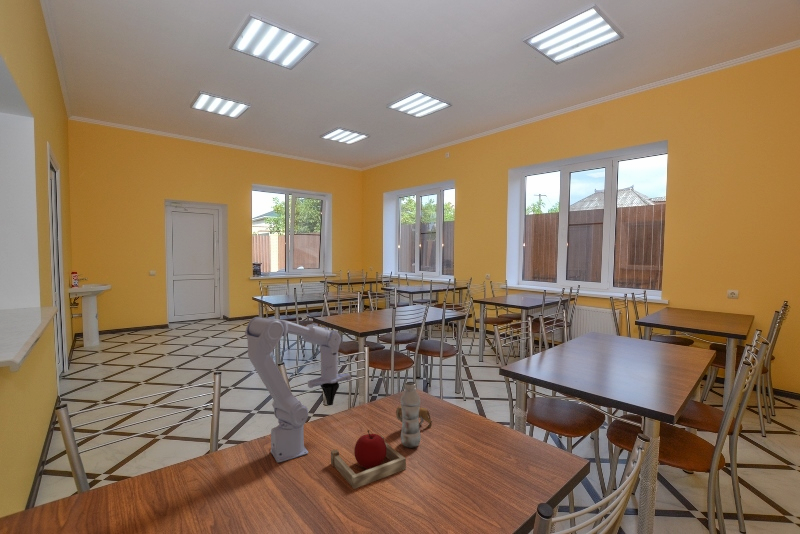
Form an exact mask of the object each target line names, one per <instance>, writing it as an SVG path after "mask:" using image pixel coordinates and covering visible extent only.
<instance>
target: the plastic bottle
mask: <svg viewBox="0 0 800 534" xmlns="http://www.w3.org/2000/svg"><path fill="white" fill-rule="evenodd" d="M400 406H401V408H402V422H401V424H402V425H401V430H400V441H401V442H400V443H401V444H402V445H403V446H404V447H406V448H416V447H418V446H419V444H420V443H421V440H422V439H421V438H422V437H421V431H420V425H419V423H420V421H419V419H420V418H419V408H421V407H420V406H421V397H420V395H419V393H418V392H417V383H416V382H415V381H412V380H411V381H409V380H408V381H406V382H404V392H403V393H402V394H401V396H400Z"/></svg>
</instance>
